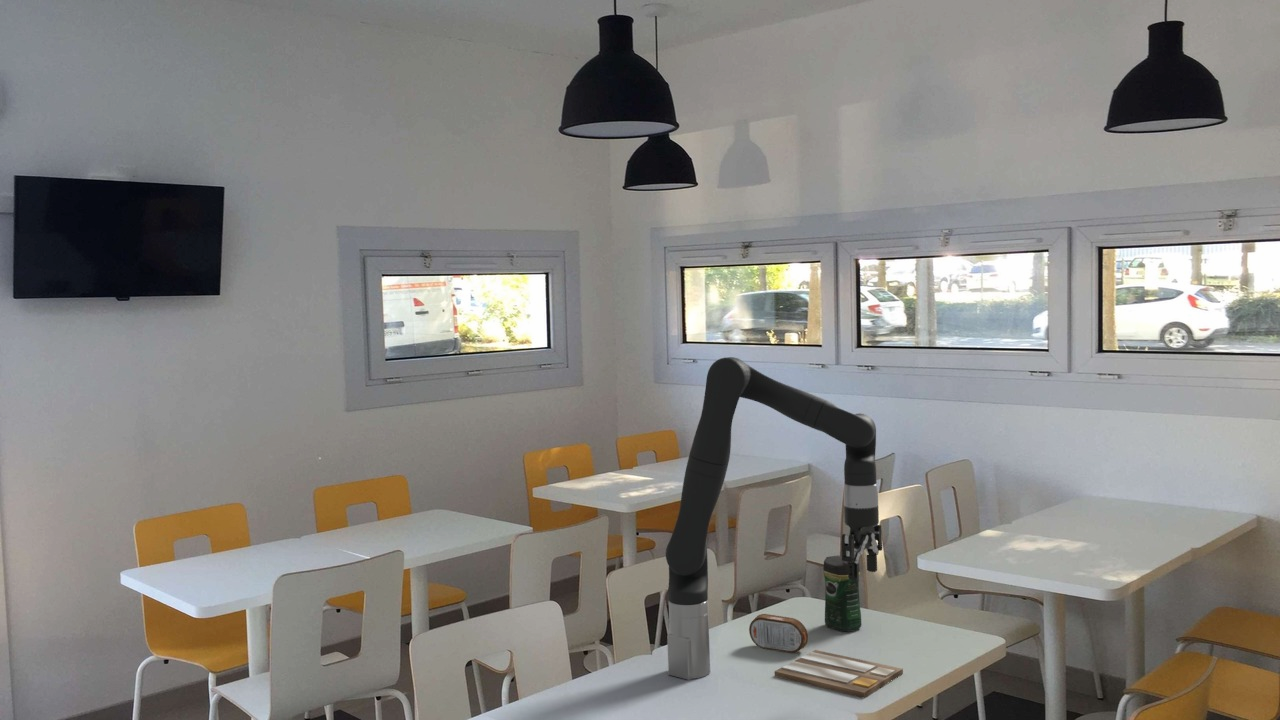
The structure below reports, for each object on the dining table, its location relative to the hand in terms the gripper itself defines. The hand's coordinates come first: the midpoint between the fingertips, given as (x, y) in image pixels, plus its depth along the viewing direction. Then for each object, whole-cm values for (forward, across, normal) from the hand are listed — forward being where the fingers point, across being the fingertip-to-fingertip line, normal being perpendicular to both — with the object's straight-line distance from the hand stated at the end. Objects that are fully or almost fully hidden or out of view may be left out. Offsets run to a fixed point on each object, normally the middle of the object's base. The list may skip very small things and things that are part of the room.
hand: (863, 575), depth 229 cm
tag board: (+24, 0, +7) cm, 25 cm away
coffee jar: (+24, +32, +24) cm, 47 cm away
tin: (+24, +7, +28) cm, 38 cm away
